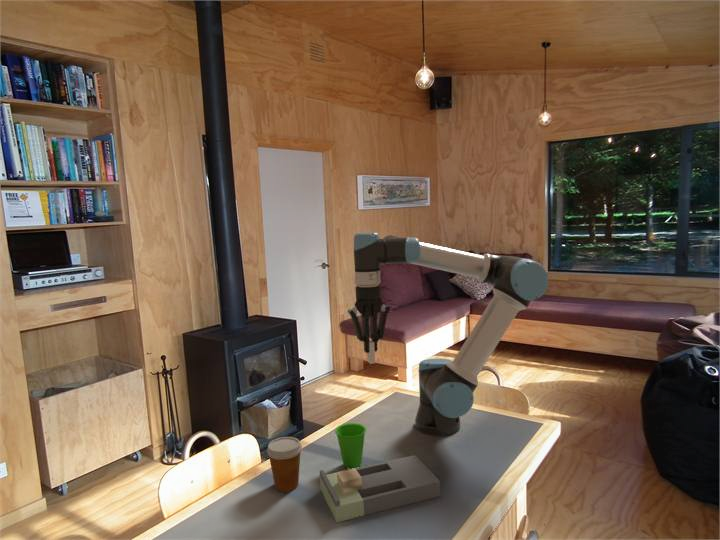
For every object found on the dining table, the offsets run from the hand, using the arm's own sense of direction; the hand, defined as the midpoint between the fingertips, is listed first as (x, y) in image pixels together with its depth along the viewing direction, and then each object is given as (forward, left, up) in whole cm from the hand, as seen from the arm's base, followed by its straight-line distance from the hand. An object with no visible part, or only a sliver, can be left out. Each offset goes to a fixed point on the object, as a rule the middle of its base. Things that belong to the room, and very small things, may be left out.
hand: (371, 362), depth 150 cm
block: (+15, +22, -24) cm, 36 cm away
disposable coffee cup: (+29, +8, -29) cm, 42 cm away
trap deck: (+7, +22, -28) cm, 36 cm away
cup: (+9, +5, -29) cm, 30 cm away
